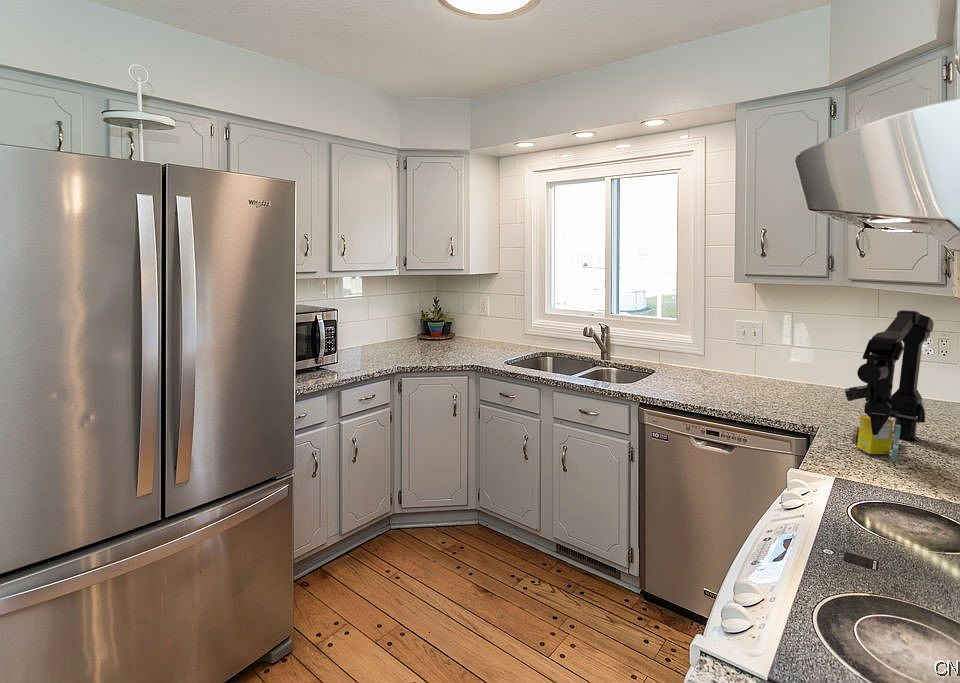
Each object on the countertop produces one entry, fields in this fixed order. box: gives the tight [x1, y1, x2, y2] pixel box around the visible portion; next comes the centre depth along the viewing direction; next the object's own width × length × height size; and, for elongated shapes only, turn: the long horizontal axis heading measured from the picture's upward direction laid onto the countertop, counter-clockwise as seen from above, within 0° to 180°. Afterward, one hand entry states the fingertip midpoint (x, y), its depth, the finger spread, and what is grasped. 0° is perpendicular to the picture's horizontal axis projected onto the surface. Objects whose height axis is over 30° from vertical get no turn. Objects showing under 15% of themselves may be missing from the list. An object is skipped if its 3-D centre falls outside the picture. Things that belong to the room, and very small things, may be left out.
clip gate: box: [891, 425, 901, 461], centre depth 165 cm, size 1×10×8 cm, turn 143°
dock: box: [851, 426, 895, 451], centre depth 178 cm, size 10×11×3 cm
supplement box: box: [856, 414, 894, 457], centre depth 168 cm, size 6×6×11 cm
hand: (874, 431), depth 167 cm, fingers open, 9 cm apart
